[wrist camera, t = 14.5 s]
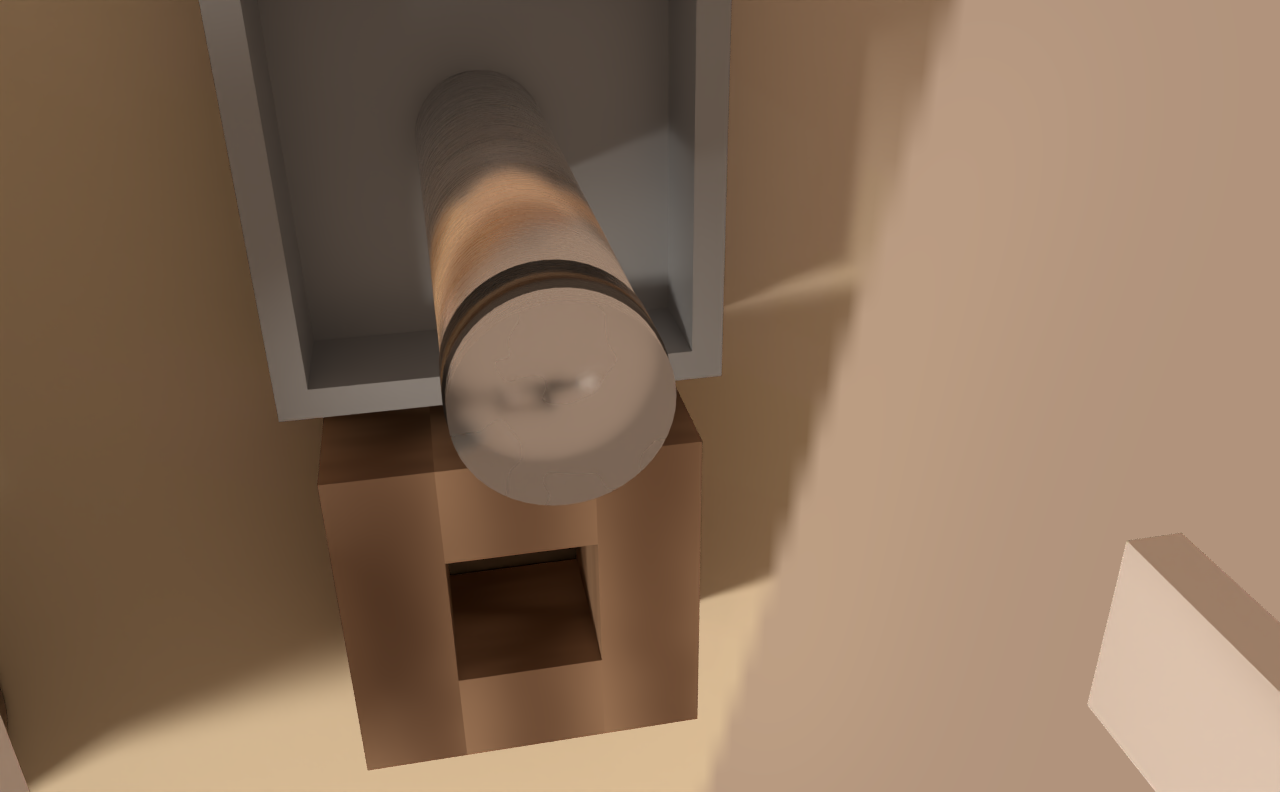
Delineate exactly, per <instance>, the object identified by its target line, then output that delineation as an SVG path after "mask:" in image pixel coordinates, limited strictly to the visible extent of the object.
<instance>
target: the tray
mask: <svg viewBox="0 0 1280 792" xmlns="http://www.w3.org/2000/svg"><path fill="white" fill-rule="evenodd" d="M199 5H200V10H201V15H202V21H203V26H204V31H205V36H206V42H207V47H208V52H209V57H210V63H211V68H212V73H213V78H214V84H215V89H216V94H217V99H218V105H219V110H220V115H221V120H222V126H223V131H224V136H225V141H226V147H227V152H228V157H229V162H230V168H231V173H232V178H233V183H234V189H235V194H236V199H237V204H238V210H239V215H240V220H241V226H242V231H243V236H244V241H245V247H246V252H247V257H248V262H249V268H250V273H251V278H252V283H253V289H254V294H255V299H256V304H257V310H258V315H259V320H260V325H261V331H262V336H263V341H264V346H265V352H266V357H267V362H268V367H269V373H270V378H271V383H272V388H273V394H274V399H275V404H276V409H277V415H278V420H279V422H284V421H293V420H303V419H313V418H322V417H332V416H341V415H351V414H360V413H370V412H380V411H389V410H399V409H408V408H418V407H428V406H437V405H443V404H442V395H441V386H440V376H439V354H440V351H439V342H438V333H437V324H436V315H435V306H434V297H433V289H432V280H431V271H430V262H429V253H428V244H427V235H426V226H425V217H424V208H423V199H422V190H421V181H420V172H419V163H418V154H417V145H416V122H417V118H418V114H419V111H420V109H421V106H422V104H423V103H424V101H425V99H426V98H427V96H428V95H429V94H430V92H431V91H432V90H433V89H434V88H435V87H436V86H437V85H439V84H440V83H441V82H442V81H444V80H446V79H447V78H449V77H451V76H453V75H456V74H458V73H461V72H465V71H471V70H488V71H494V72H497V73H501V74H503V75H506V76H508V77H510V78H512V79H513V80H515V81H517V82H518V83H519V84H521V85H522V86H523V87H524V88H525V89H526V90H527V91H528V92H529V93H530V94H531V96H532V97H533V98H534V100H535V101H536V103H537V105H538V107H539V109H540V111H541V113H542V115H543V117H544V118H545V120H546V122H547V124H548V126H549V128H550V130H551V132H552V134H553V136H554V138H555V140H556V142H557V144H558V146H559V148H560V149H561V151H562V153H563V155H564V157H565V159H566V161H567V163H568V165H569V167H570V169H571V171H572V173H573V175H574V177H575V179H576V180H577V182H578V184H579V186H580V188H581V190H582V192H583V194H584V196H585V198H586V200H587V202H588V204H589V206H590V208H591V209H592V211H593V213H594V215H595V217H596V219H597V221H598V223H599V225H600V227H601V229H602V231H603V233H604V235H605V237H606V239H607V240H608V242H609V244H610V246H611V248H612V250H613V252H614V254H615V256H616V258H617V260H618V262H619V264H620V266H621V268H622V270H623V271H624V273H625V275H626V277H627V279H628V281H629V283H630V285H631V287H632V289H633V291H634V293H635V294H636V296H637V297H638V298H639V300H640V301H641V302H642V303H643V305H644V307H645V309H646V311H647V312H648V314H649V316H650V318H651V320H652V322H653V324H654V326H655V327H656V329H657V331H658V333H659V335H660V337H661V339H662V341H663V343H664V346H665V348H666V351H667V354H668V358H669V362H670V364H671V367H672V369H673V373H674V378H675V381H676V380H686V379H696V378H705V377H715V376H722V339H723V302H724V265H725V228H726V191H727V154H728V117H729V80H730V43H731V6H732V0H199Z"/></svg>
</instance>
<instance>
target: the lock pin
mask: <svg viewBox="0 0 1280 792" xmlns="http://www.w3.org/2000/svg"><path fill="white" fill-rule="evenodd" d="M416 145H417V154H418V163H419V172H420V181H421V190H422V199H423V208H424V217H425V226H426V235H427V244H428V253H429V262H430V271H431V280H432V289H433V297H434V306H435V315H436V324H437V333H438V342H439V351H440V354H439V376H440V386H441V395H442V404H443V410H444V415H445V419H446V422H447V425H448V428H449V433H450V436H451V439H452V442H453V445H454V447H455V449H456V451H457V453H458V455H459V457H460V459H461V460H462V461H463V463H464V464H465V465H466V467H467V468H468V469H469V470H470V471H471V472H472V473H473V474H474V475H475V476H476V478H477V479H479V480H480V481H481V482H483V483H484V484H485V485H487V486H488V487H489V488H491V489H493V490H495V491H496V492H498V493H500V494H502V495H505V496H507V497H509V498H512V499H515V500H518V501H522V502H525V503H531V504H538V505H554V506H555V505H569V504H574V503H580V502H585V501H588V500H591V499H595V498H598V497H600V496H603V495H605V494H607V493H610V492H612V491H613V490H615V489H617V488H619V487H621V486H623V485H624V484H625V483H627V482H628V481H630V480H631V479H632V478H634V477H635V476H636V475H637V474H638V473H640V472H641V471H642V470H643V469H644V468H645V467H646V466H647V465H648V464H649V463H650V461H651V460H652V459H653V458H654V457H655V455H656V454H657V452H658V451H659V450H660V448H661V447H662V445H663V443H664V441H665V439H666V437H667V435H668V433H669V430H670V428H671V425H672V422H673V418H674V413H675V408H676V383H675V378H674V373H673V369H672V367H671V364H670V362H669V358H668V354H667V351H666V348H665V346H664V343H663V341H662V339H661V337H660V335H659V333H658V331H657V329H656V327H655V326H654V324H653V322H652V320H651V318H650V316H649V314H648V312H647V311H646V309H645V307H644V305H643V303H642V302H641V301H640V300H639V298H638V297H637V296H636V294H635V293H634V291H633V289H632V287H631V285H630V283H629V281H628V279H627V277H626V275H625V273H624V271H623V270H622V268H621V266H620V264H619V262H618V260H617V258H616V256H615V254H614V252H613V250H612V248H611V246H610V244H609V242H608V240H607V239H606V237H605V235H604V233H603V231H602V229H601V227H600V225H599V223H598V221H597V219H596V217H595V215H594V213H593V211H592V209H591V208H590V206H589V204H588V202H587V200H586V198H585V196H584V194H583V192H582V190H581V188H580V186H579V184H578V182H577V180H576V179H575V177H574V175H573V173H572V171H571V169H570V167H569V165H568V163H567V161H566V159H565V157H564V155H563V153H562V151H561V149H560V148H559V146H558V144H557V142H556V140H555V138H554V136H553V134H552V132H551V130H550V128H549V126H548V124H547V122H546V120H545V118H544V117H543V115H542V113H541V111H540V109H539V107H538V105H537V103H536V101H535V100H534V98H533V97H532V96H531V94H530V93H529V92H528V91H527V90H526V89H525V88H524V87H523V86H522V85H521V84H519V83H518V82H517V81H515V80H513V79H512V78H510V77H508V76H506V75H503V74H501V73H497V72H494V71H488V70H471V71H465V72H461V73H458V74H456V75H453V76H451V77H449V78H447V79H446V80H444V81H442V82H441V83H440V84H439V85H437V86H436V87H435V88H434V89H433V90H432V91H431V92H430V94H429V95H428V96H427V98H426V99H425V101H424V103H423V104H422V106H421V109H420V111H419V114H418V118H417V122H416Z"/></svg>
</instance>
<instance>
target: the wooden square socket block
mask: <svg viewBox="0 0 1280 792" xmlns="http://www.w3.org/2000/svg"><path fill="white" fill-rule="evenodd" d="M317 486H318V492H319V498H320V503H321V509H322V515H323V520H324V526H325V532H326V537H327V543H328V549H329V554H330V560H331V566H332V571H333V577H334V582H335V588H336V594H337V599H338V605H339V611H340V616H341V622H342V628H343V633H344V639H345V645H346V650H347V656H348V662H349V667H350V673H351V678H352V684H353V690H354V695H355V701H356V707H357V712H358V718H359V724H360V729H361V735H362V741H363V746H364V752H365V758H366V763H367V769H368V770H374V769H380V768H386V767H393V766H399V765H406V764H412V763H418V762H425V761H431V760H437V759H444V758H450V757H456V756H463V755H469V754H475V753H482V752H488V751H495V750H501V749H507V748H514V747H520V746H526V745H533V744H539V743H545V742H552V741H558V740H565V739H571V738H577V737H584V736H590V735H596V734H603V733H609V732H615V731H622V730H628V729H634V728H641V727H647V726H654V725H660V724H666V723H673V722H679V721H685V720H692V719H697V708H698V654H699V599H700V545H701V490H702V440H701V438H700V436H699V434H698V432H697V430H696V427H695V425H694V423H693V421H692V419H691V417H690V415H689V413H688V411H687V409H686V407H685V405H684V403H683V401H682V399H681V397H680V395H679V393H678V391H677V389H676V408H675V413H674V418H673V422H672V425H671V428H670V430H669V433H668V435H667V437H666V439H665V441H664V443H663V445H662V447H661V448H660V450H659V451H658V452H657V454H656V455H655V457H654V458H653V459H652V460H651V461H650V463H649V464H648V465H647V466H646V467H645V468H644V469H643V470H642V471H641V472H640V473H638V474H637V475H636V476H635V477H634V478H632V479H631V480H630V481H628V482H627V483H625V484H624V485H623V486H621V487H619V488H617V489H615V490H613V491H612V492H610V493H607V494H605V495H603V496H600V497H598V498H595V499H591V500H588V501H585V502H580V503H574V504H569V505H555V506H554V505H538V504H531V503H525V502H522V501H518V500H515V499H512V498H509V497H507V496H505V495H502V494H500V493H498V492H496V491H495V490H493V489H491V488H489V487H488V486H487V485H485V484H484V483H483V482H481V481H480V480H479V479H477V478H476V476H475V475H474V474H473V473H472V472H471V471H470V470H469V469H468V468H467V467H466V465H465V464H464V463H463V461H462V460H461V459H460V457H459V455H458V453H457V451H456V449H455V447H454V445H453V442H452V439H451V436H450V433H449V428H448V425H447V422H446V419H445V415H444V410H443V405H437V406H428V407H418V408H408V409H399V410H389V411H380V412H370V413H360V414H351V415H341V416H332V417H324V420H323V430H322V441H321V452H320V463H319V473H318V484H317ZM573 547H576V559H573V560H565V561H558V562H550V563H542V564H535V565H527V566H519V567H511V568H504V569H496V570H488V571H481V572H473V573H465V574H458V575H450V574H449V565H448V563H456V562H464V561H472V560H479V559H487V558H495V557H503V556H511V555H518V554H526V553H534V552H542V551H550V550H557V549H565V548H573Z"/></svg>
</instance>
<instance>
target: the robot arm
mask: <svg viewBox="0 0 1280 792" xmlns="http://www.w3.org/2000/svg"><path fill="white" fill-rule="evenodd" d="M1088 706H1089V708H1090V709H1091V710H1092V711H1093V713H1094V714H1095V715H1096V717H1097V718H1098V719H1099V720H1100V722H1101V723H1102V724H1103V725H1104V727H1105V728H1106V729H1107V731H1108V732H1109V733H1110V734H1111V736H1112V737H1113V738H1114V739H1115V741H1116V742H1117V743H1118V745H1119V746H1120V747H1121V748H1122V750H1123V751H1124V752H1125V753H1126V755H1127V756H1128V757H1129V759H1130V760H1131V761H1132V762H1133V764H1134V765H1135V766H1136V767H1137V769H1138V770H1139V771H1140V772H1141V774H1142V775H1143V776H1144V778H1145V779H1146V780H1147V781H1148V783H1149V784H1150V785H1151V787H1152V788H1153V789H1154V790H1155V791H1156V792H1280V622H1278V621H1277V620H1276V619H1275V618H1274V617H1273V616H1272V615H1271V614H1270V613H1268V611H1266V610H1265V609H1264V608H1263V607H1262V606H1261V605H1260V604H1259V603H1258V602H1256V601H1255V600H1254V599H1253V598H1252V597H1251V596H1250V595H1249V594H1248V593H1247V592H1246V591H1244V590H1243V589H1242V588H1241V587H1240V586H1239V585H1238V584H1237V583H1236V582H1235V581H1234V580H1232V579H1231V578H1230V577H1229V576H1228V575H1227V574H1226V573H1225V572H1224V571H1222V570H1221V569H1220V568H1219V567H1218V566H1217V565H1216V564H1215V563H1214V562H1213V561H1211V559H1209V558H1208V557H1207V556H1206V555H1205V554H1204V553H1203V552H1202V551H1201V550H1200V549H1199V548H1197V547H1196V546H1195V545H1194V544H1193V543H1192V542H1191V541H1190V540H1189V539H1188V538H1186V537H1185V536H1184V535H1183V534H1182V533H1176V534H1169V535H1162V536H1156V537H1149V538H1142V539H1135V540H1128V541H1127V542H1126V546H1125V550H1124V554H1123V559H1122V563H1121V567H1120V572H1119V575H1118V579H1117V584H1116V588H1115V592H1114V596H1113V600H1112V605H1111V609H1110V613H1109V617H1108V622H1107V625H1106V630H1105V634H1104V638H1103V642H1102V646H1101V651H1100V655H1099V659H1098V663H1097V667H1096V672H1095V676H1094V680H1093V684H1092V688H1091V692H1090V697H1089V701H1088ZM0 792H30V791H29V789H28V786H27V783H26V781H25V778H24V775H23V773H22V770H21V768H20V765H19V762H18V760H17V757H16V755H15V752H14V749H13V747H12V744H11V741H10V739H9V736H8V734H7V712H6V707H5V702H4V698H3V695H2V692H1V689H0Z"/></svg>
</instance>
